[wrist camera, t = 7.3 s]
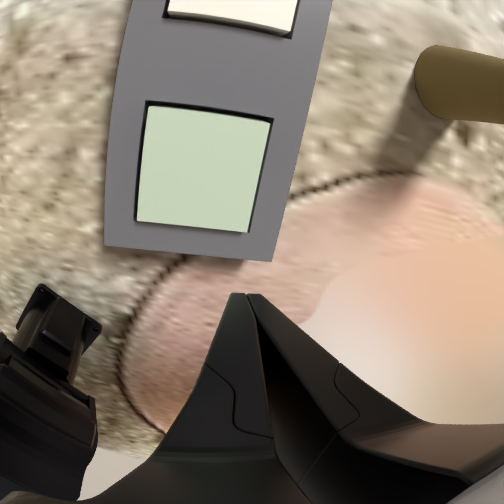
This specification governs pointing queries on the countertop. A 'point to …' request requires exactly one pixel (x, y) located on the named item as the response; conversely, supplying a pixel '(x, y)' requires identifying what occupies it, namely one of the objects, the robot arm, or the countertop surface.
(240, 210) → the sage key
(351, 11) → the countertop surface
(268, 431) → the robot arm
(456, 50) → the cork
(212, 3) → the cream key
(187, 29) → the key panel
